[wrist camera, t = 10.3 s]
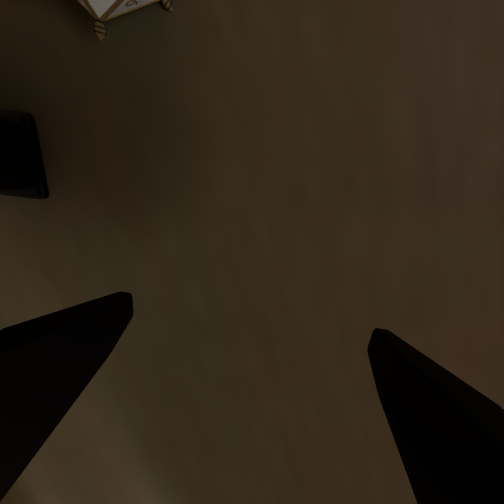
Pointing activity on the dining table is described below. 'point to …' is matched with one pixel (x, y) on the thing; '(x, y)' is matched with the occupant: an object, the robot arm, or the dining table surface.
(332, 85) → the dining table surface
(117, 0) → the game die
